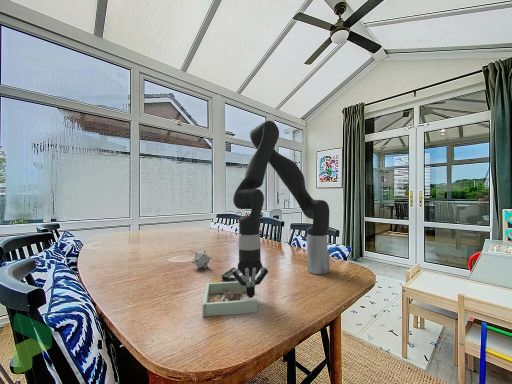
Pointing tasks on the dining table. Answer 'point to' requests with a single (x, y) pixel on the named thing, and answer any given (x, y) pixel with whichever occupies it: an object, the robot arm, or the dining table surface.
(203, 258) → the grey spiky ball
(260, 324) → the dining table surface
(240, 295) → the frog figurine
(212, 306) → the frame
